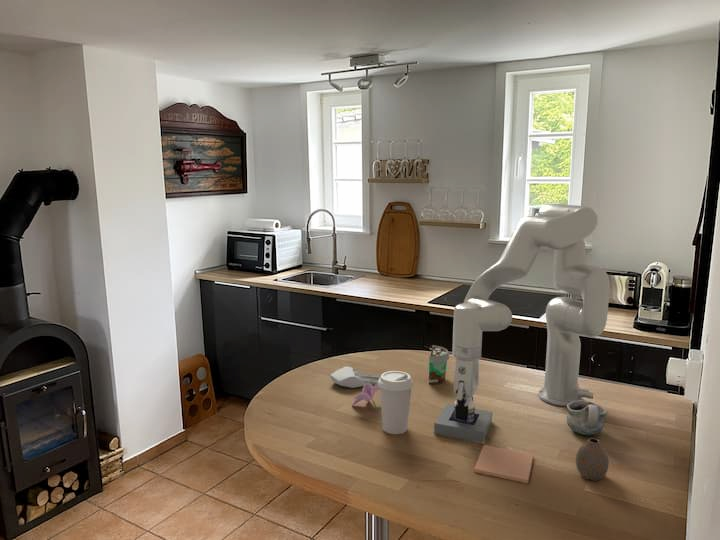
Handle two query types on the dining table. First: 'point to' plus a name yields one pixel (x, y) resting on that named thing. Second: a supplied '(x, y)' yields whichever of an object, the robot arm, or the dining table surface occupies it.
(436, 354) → the food container
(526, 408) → the dining table surface
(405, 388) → the coffee cup
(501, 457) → the terracotta tile
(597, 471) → the vase
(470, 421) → the pill bottle
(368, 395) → the lily
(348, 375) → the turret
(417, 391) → the dining table surface
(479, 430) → the bottle holder
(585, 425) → the mug
